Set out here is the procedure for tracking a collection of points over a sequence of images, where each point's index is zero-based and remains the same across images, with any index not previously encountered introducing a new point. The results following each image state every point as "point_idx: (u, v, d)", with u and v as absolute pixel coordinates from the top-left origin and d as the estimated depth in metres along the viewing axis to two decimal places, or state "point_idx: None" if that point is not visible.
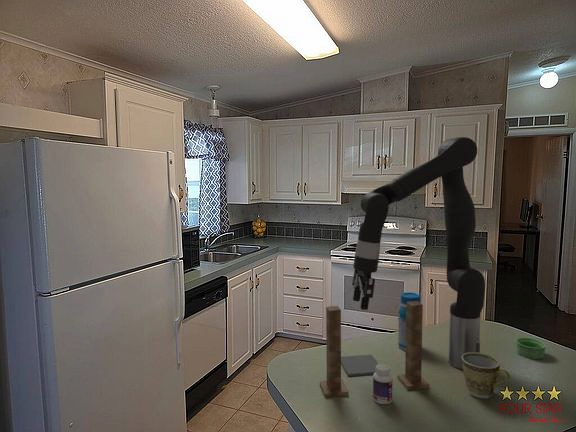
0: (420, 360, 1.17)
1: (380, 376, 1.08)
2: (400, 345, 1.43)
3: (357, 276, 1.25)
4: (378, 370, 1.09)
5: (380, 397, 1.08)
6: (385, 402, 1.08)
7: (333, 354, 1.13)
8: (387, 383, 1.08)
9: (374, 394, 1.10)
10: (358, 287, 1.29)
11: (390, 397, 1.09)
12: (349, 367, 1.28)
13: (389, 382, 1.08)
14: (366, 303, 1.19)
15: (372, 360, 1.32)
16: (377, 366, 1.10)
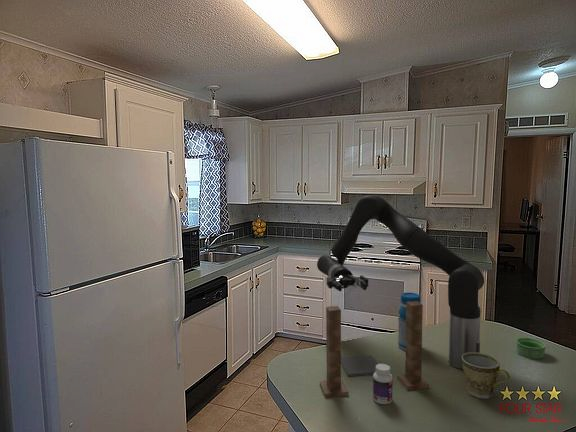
0: (420, 360, 1.17)
1: (380, 376, 1.08)
2: (400, 345, 1.43)
3: None
4: (378, 370, 1.09)
5: (380, 397, 1.08)
6: (385, 402, 1.08)
7: (333, 354, 1.13)
8: (387, 383, 1.08)
9: (374, 394, 1.10)
10: (360, 283, 1.36)
11: (390, 397, 1.09)
12: (349, 367, 1.28)
13: (389, 382, 1.08)
14: (335, 286, 1.32)
15: (372, 360, 1.32)
16: (377, 366, 1.10)
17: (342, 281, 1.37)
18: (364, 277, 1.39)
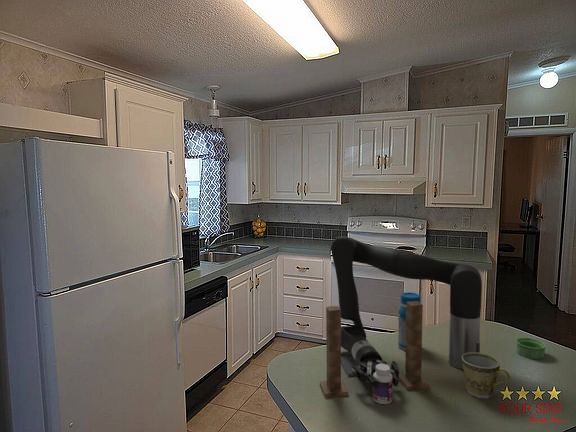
0: (420, 360, 1.17)
1: (380, 376, 1.08)
2: (400, 345, 1.43)
3: None
4: (378, 370, 1.09)
5: (380, 397, 1.08)
6: (385, 402, 1.08)
7: (333, 354, 1.13)
8: (387, 383, 1.08)
9: (374, 394, 1.10)
10: None
11: (390, 397, 1.09)
12: (349, 367, 1.28)
13: (389, 382, 1.08)
14: (369, 380, 1.09)
15: None
16: (377, 366, 1.10)
17: (373, 370, 1.14)
18: (396, 365, 1.16)
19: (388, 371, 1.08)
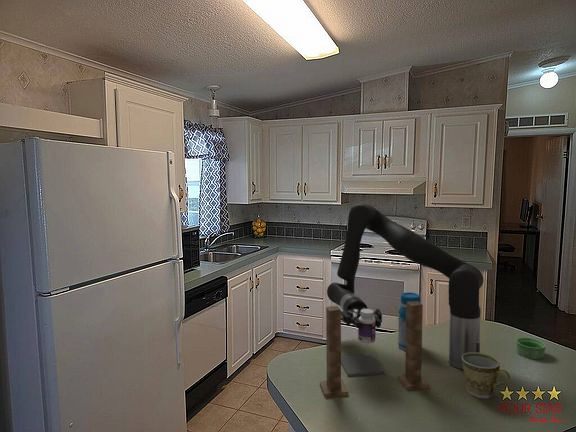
0: (420, 360, 1.17)
1: (364, 318, 1.21)
2: (400, 345, 1.43)
3: None
4: (362, 313, 1.21)
5: (364, 337, 1.20)
6: (369, 342, 1.20)
7: (333, 354, 1.13)
8: (370, 324, 1.20)
9: (359, 335, 1.22)
10: None
11: (373, 337, 1.21)
12: (349, 367, 1.28)
13: (372, 324, 1.20)
14: (354, 322, 1.21)
15: (372, 360, 1.32)
16: (362, 310, 1.22)
17: (359, 315, 1.26)
18: (379, 311, 1.28)
19: (371, 314, 1.20)
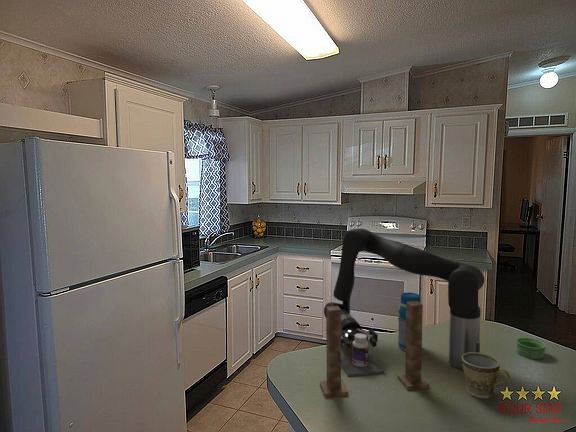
0: (420, 360, 1.17)
1: (358, 343, 1.28)
2: (400, 345, 1.43)
3: None
4: (356, 338, 1.28)
5: (358, 360, 1.28)
6: (362, 365, 1.28)
7: (333, 354, 1.13)
8: (364, 349, 1.27)
9: (353, 358, 1.29)
10: None
11: (366, 361, 1.28)
12: (349, 367, 1.28)
13: (365, 348, 1.28)
14: (344, 343, 1.29)
15: (372, 360, 1.32)
16: (356, 335, 1.30)
17: (351, 336, 1.34)
18: (373, 331, 1.36)
19: (365, 339, 1.28)
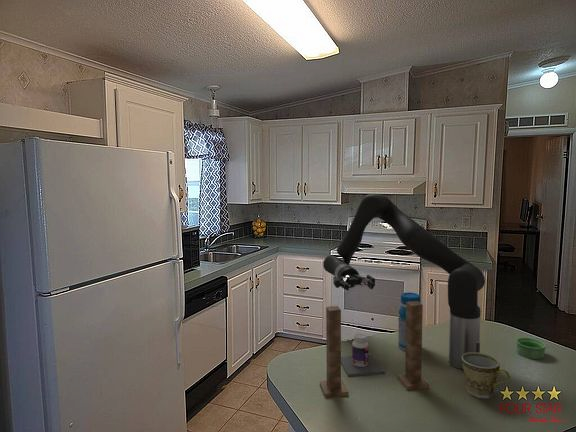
0: (420, 360, 1.17)
1: (358, 343, 1.28)
2: (400, 345, 1.43)
3: (354, 285, 1.41)
4: (356, 338, 1.28)
5: (358, 360, 1.28)
6: (362, 365, 1.28)
7: (333, 354, 1.13)
8: (363, 349, 1.27)
9: (353, 359, 1.29)
10: (367, 282, 1.37)
11: (366, 361, 1.28)
12: (349, 367, 1.28)
13: (365, 348, 1.28)
14: (343, 285, 1.34)
15: (372, 360, 1.32)
16: (355, 335, 1.30)
17: (349, 280, 1.38)
18: None
19: (364, 339, 1.28)
